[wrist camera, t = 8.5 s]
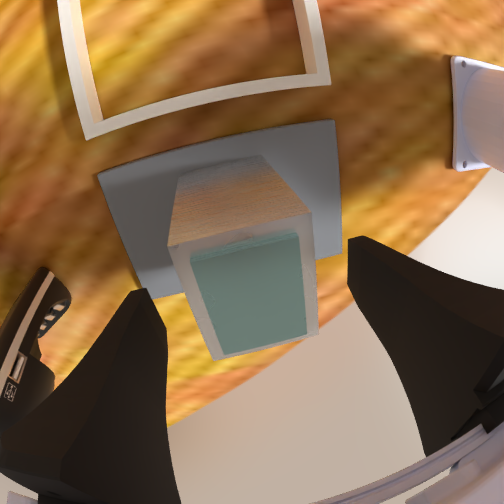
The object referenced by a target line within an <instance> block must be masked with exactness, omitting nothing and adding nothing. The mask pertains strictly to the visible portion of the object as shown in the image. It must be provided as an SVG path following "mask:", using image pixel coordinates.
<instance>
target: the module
mask: <svg viewBox="0 0 504 504" xmlns="http://www.w3.org/2000/svg"><path fill="white" fill-rule="evenodd" d="M167 248H168V250H169V253H170V256H171V259H172V261H173V264H174V267H175V269H176V272H177V275H178V277H179V280H180V282H181V285H182V287H183V290H184V292H185V295H186V298H187V300H188V302H189V305H190V307H191V310H192V312H193V315H194V317H195V319H196V322H197V324H198V327H199V329H200V331H201V334H202V336H203V338H204V341H205V343H206V345H207V347H208V350H209V352H210V354H211V356H212V359H213V361H216V360H220V359H225V358H230V357H234V356H238V355H243V354H247V353H251V352H255V351H260V350H264V349H268V348H272V347H275V346H279V345H283V344H287V343H290V342H294V341H298V340H301V339H305V338H308V337H312V336H315V335H318V334H319V332H318V331H319V330H318V302H317V282H316V264H315V249H314V236H313V223H312V212H311V211H310V210H309V209H308V207H307V206H306V205H305V204H304V203H303V202H302V200H301V199H300V198H299V197H298V196H297V195H296V193H295V192H294V191H293V190H292V189H291V188H290V187H289V185H288V184H287V183H286V182H285V181H284V180H283V179H282V178H281V176H280V175H279V174H278V173H277V172H276V171H275V170H274V169H273V167H272V166H271V165H270V164H269V163H268V162H267V161H266V160H265V159H264V158H263V157H262V155H258V156H253V157H248V158H244V159H239V160H234V161H230V162H226V163H221V164H217V165H213V166H209V167H204V168H200V169H196V170H192V171H189V172H185V173H181V174H179V178H178V184H177V189H176V195H175V200H174V206H173V212H172V218H171V224H170V231H169V237H168V244H167Z"/></svg>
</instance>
